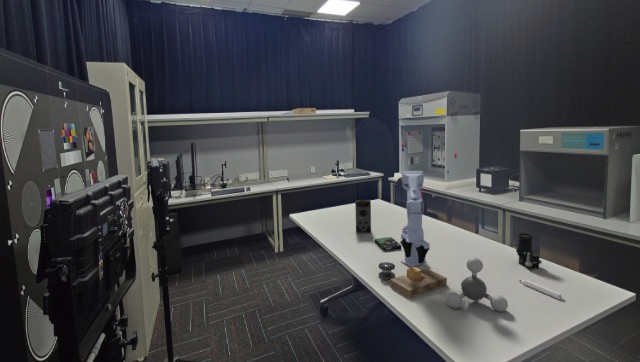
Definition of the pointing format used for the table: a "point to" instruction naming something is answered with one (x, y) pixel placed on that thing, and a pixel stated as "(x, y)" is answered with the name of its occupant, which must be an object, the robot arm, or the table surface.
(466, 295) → the molecule model
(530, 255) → the scope
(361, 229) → the electronic device
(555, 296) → the marker
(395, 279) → the notched board
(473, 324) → the table surface
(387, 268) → the bobbin
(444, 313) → the table surface
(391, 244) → the disk drive
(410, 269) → the orange rectangular block
